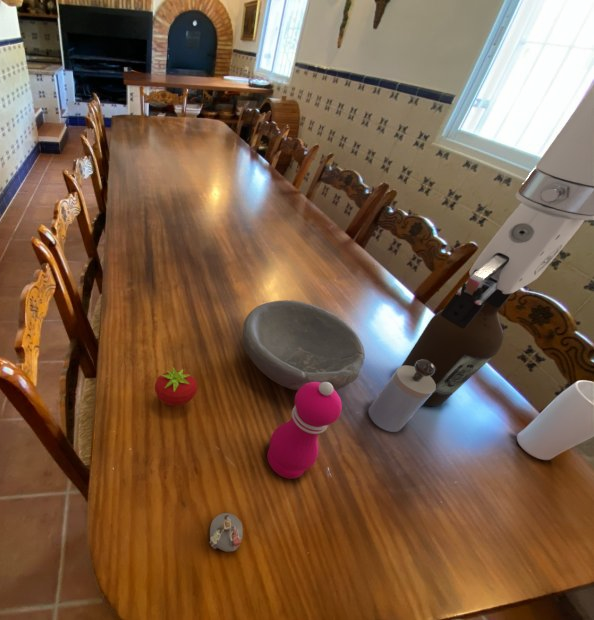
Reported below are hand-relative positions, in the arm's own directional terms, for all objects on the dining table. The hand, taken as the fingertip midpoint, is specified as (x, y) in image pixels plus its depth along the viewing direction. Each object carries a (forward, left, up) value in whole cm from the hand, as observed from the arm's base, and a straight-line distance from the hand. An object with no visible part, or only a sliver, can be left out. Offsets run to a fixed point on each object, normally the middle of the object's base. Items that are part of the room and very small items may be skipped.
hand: (470, 311), depth 50 cm
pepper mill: (+3, +23, -26) cm, 35 cm away
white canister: (0, 0, -26) cm, 26 cm away
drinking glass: (-17, -19, -26) cm, 37 cm away
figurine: (-1, +39, -26) cm, 47 cm away
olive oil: (+1, -13, -26) cm, 30 cm away
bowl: (+18, +7, -26) cm, 33 cm away
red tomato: (+21, +34, -26) cm, 48 cm away
